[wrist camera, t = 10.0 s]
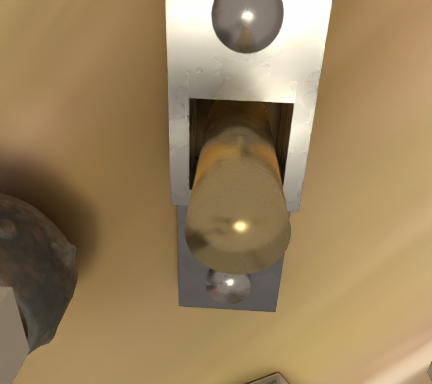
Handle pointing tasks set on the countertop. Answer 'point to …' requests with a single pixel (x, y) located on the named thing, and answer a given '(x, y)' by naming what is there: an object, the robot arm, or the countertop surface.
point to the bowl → (35, 268)
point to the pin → (237, 192)
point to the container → (271, 380)
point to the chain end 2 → (221, 282)
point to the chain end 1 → (244, 73)
